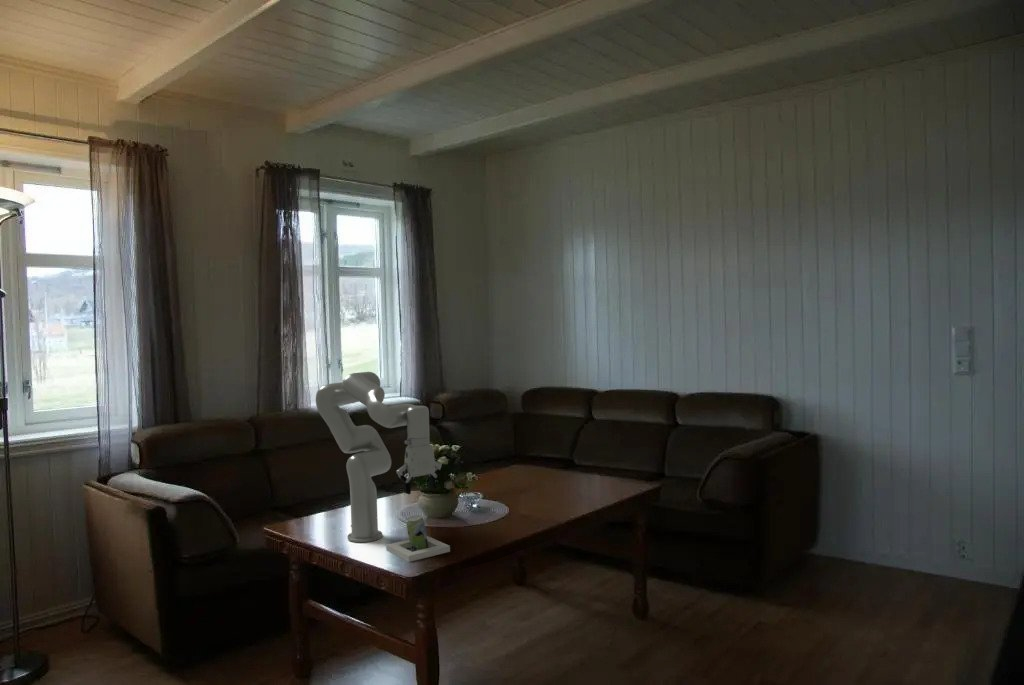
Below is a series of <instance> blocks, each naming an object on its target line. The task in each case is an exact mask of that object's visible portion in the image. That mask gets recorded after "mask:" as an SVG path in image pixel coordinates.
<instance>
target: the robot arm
mask: <svg viewBox="0 0 1024 685" xmlns="http://www.w3.org/2000/svg"><path fill="white" fill-rule="evenodd" d="M385 395H386V393H385V390H384V388H383V387H382V386H381V380H380V377H379V376H378V375H377V373H375V372H372V371H362V372H361V371H360V372H353V373H349V374H348V375H347V374H346V376H345V377H344V378H343V379H342V381H340V382H334V383H332V382H331V383H327V384H325V385H322V386H321V387H319V388H318V389H317V392H316V395H315V405H316V408H317V411H318V413H319V415H320V416H321V417H322V419H323V420H324V422H325V423H326V425H327V426H328V428H329V430H330V433H331V435H333V438H334V439H335V441H336V444H337V445H338V447H339V449H340V450H341V452H343V453H344V454H352V455H351V456H350V457H348V459H347V462H346V465H345V467H346V473H347V477H348V482H349V483H348V484H349V494H350V495H349V498H350V518H351V519H350V521H351V522H350V524H351V525H350V528H351V532H350V533H349V534H348V535H347V540H348V541H349V542H353V543H368V542H373V541H378V540H380V539H382V537H383V532H382V531H380V530H379V522H378V497H377V486H376V484H375V482H374V481H373V479H372V477H374V476H377V475H378V476H379V475H381V474H385V473H386V472H388V471H390V469H391V466H392V458H391V454H390V453H389V451H388V449H387V447H386V445H385V444H384V441H383V440H382V438H381V436H380V434H379V432H378V430H376V429H375V428H374V427H373V426H371V425H369V424H362V425H355V423H354V422H353V421H352V418H351V417H350V415H349V414H348V413H347V412H346V411H345V410H344V409H342V408H341V407H339V406H341V405H349V404H354V403H358V402H359V403H361V404H362V405H364V406H365V407H366V411H367V414H368V415H369V417H370V419H371V420H373V421H374V422H375V423H377V424H378V425H381V426H382V427H384V428H386V429H387V428H388V429H393V428H399V427H405V426H407V427H406V428H407V430H406V431H407V434H406V435H407V438H406V440H404V444H405V445H407V446H405V453H404V459H403V460H404V464H403V465H402V466H401V467H399V468H398V469H397V470H396V471H395V472H396V475H397V476H398V479H400V480H401V481H402V482H403V491H404V494H407V495H410V494H412V490H411V488H412V487H411V486H412V485H411V482H410V481H411V479H412V478H415V477H422V476H427V475H429V477H428V488H429V489H431V490H433V491H434V490H436V484H437V483H436V482H437V478H438V475H439V473H440V471H441V468H442V465H443V464H442V463H440V462H438V461H436V458H435V452H434V448H433V444H430V443H431V442H430V410H429V407H428V406H425V405H416V404H415V405H414V404H413V403H400V404H396V405H395V404H393V405H387V404H385V403H383V402H384V399H385ZM353 453H354V454H353ZM403 472H404V475H403Z"/></svg>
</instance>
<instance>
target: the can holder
mask: <svg viewBox="0 0 1024 685" xmlns="http://www.w3.org/2000/svg"><path fill="white" fill-rule="evenodd" d="M427 541H428V548H426V549H422V550H418V551H412V550H409V549H411V546H410V541H409V539H405V540H401V541H395V542H392V543H388V544H386V545H385V548H386V551H387V552H389V553H390V554H392V555H394V556H396V557H398V558H400V559H402V560H404V561H406V562H408V563H410V562H414V561H418V560H421V559H422V560H423V559H425V558H430V557H434V556H437V555H442V554H446V553H450V552H451V545H449V544H446V543H444V542H443V541H439V540H437V539H435V538H434V537H433V538H432V537H431V536H428V535H427Z"/></svg>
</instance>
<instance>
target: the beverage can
mask: <svg viewBox="0 0 1024 685" xmlns="http://www.w3.org/2000/svg"><path fill="white" fill-rule="evenodd" d="M406 528H407V535H408V540H409V541H410V546H411V548H410V551H411V552H414V551H418V550H422V549H426V548H429V547H428V541H427V536H428V535H427V530H426V524H425V519H424V518H423V516H422V515H419V514H418V515H413V516H410V517H408V518H407V521H406Z"/></svg>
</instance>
